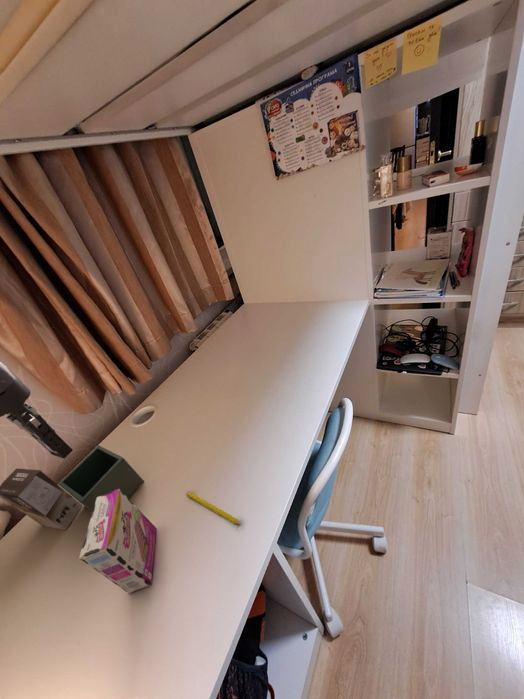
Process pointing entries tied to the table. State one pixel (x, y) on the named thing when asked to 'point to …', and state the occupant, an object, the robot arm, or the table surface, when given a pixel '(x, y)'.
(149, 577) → the candy bar box
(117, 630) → the table surface
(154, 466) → the table surface
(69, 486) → the box
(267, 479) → the table surface
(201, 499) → the pencil
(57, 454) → the ink cartridge
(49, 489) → the coffee box
